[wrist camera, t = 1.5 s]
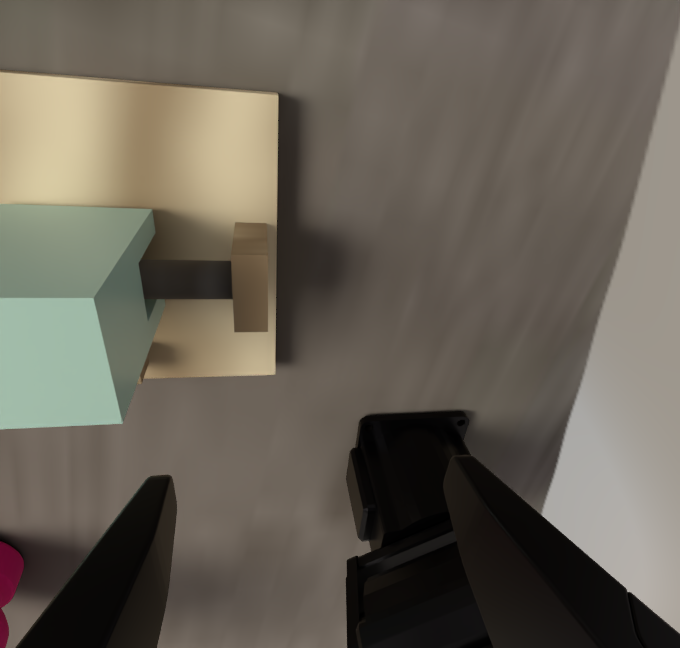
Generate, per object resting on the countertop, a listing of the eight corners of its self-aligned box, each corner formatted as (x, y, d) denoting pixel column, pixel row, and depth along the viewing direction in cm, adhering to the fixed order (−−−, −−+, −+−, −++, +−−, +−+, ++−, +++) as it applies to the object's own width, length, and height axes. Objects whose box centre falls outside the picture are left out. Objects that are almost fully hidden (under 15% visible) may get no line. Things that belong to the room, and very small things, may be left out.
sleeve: (152, 208, 16) (93, 297, 10) (165, 305, 18) (122, 423, 12) (-3, 203, 15) (-160, 297, 9) (30, 305, 17) (-83, 432, 11)
